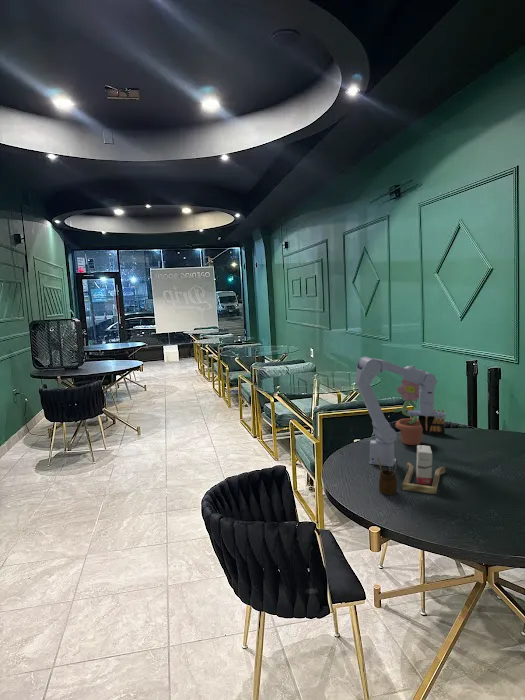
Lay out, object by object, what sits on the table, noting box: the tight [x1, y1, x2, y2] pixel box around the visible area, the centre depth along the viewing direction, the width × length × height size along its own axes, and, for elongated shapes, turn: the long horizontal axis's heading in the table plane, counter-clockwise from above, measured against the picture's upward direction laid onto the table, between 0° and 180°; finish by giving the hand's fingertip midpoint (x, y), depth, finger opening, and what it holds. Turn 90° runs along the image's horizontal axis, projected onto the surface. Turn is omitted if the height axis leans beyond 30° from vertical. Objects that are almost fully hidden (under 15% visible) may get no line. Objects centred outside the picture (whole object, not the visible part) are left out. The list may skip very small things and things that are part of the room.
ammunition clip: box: [422, 408, 446, 435], centre depth 218 cm, size 11×2×12 cm, turn 68°
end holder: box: [402, 462, 446, 495], centre depth 166 cm, size 14×21×2 cm, turn 154°
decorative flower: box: [393, 378, 427, 446], centre depth 205 cm, size 15×14×30 cm
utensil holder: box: [378, 457, 398, 496], centre depth 157 cm, size 6×6×12 cm
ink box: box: [415, 444, 433, 486], centre depth 165 cm, size 9×5×12 cm, turn 165°
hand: (426, 434), depth 185 cm, fingers closed
